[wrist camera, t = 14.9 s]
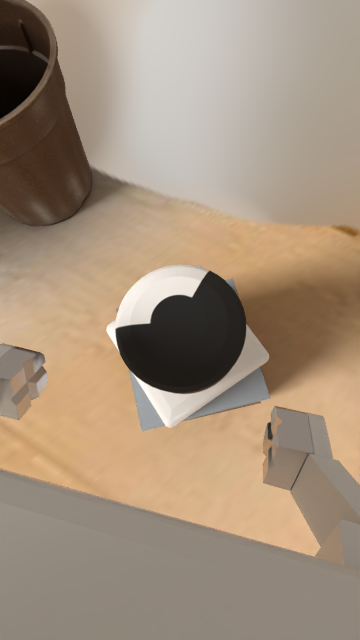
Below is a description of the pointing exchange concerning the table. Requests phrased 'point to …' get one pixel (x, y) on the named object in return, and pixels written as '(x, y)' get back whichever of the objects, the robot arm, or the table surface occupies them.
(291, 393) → the table surface
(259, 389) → the tower top block
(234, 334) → the medicine bottle
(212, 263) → the table surface
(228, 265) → the table surface
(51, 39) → the plant pot
